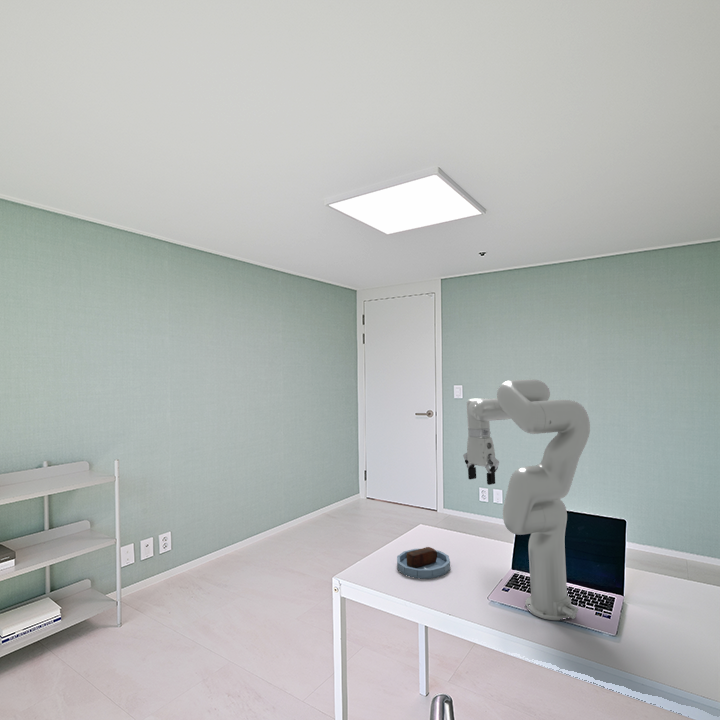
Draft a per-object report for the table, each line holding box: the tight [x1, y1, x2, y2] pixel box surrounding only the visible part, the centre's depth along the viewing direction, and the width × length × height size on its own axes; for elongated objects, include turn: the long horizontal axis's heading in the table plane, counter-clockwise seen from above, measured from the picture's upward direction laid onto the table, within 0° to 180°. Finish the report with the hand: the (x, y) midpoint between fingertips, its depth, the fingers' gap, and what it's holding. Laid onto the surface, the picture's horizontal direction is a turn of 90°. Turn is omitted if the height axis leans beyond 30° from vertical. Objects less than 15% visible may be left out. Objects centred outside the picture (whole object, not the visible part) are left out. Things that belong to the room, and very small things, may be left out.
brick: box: [406, 546, 437, 568], centre depth 160 cm, size 11×4×5 cm, turn 121°
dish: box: [396, 548, 451, 580], centre depth 160 cm, size 18×18×3 cm
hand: (481, 481), depth 163 cm, fingers open, 9 cm apart
